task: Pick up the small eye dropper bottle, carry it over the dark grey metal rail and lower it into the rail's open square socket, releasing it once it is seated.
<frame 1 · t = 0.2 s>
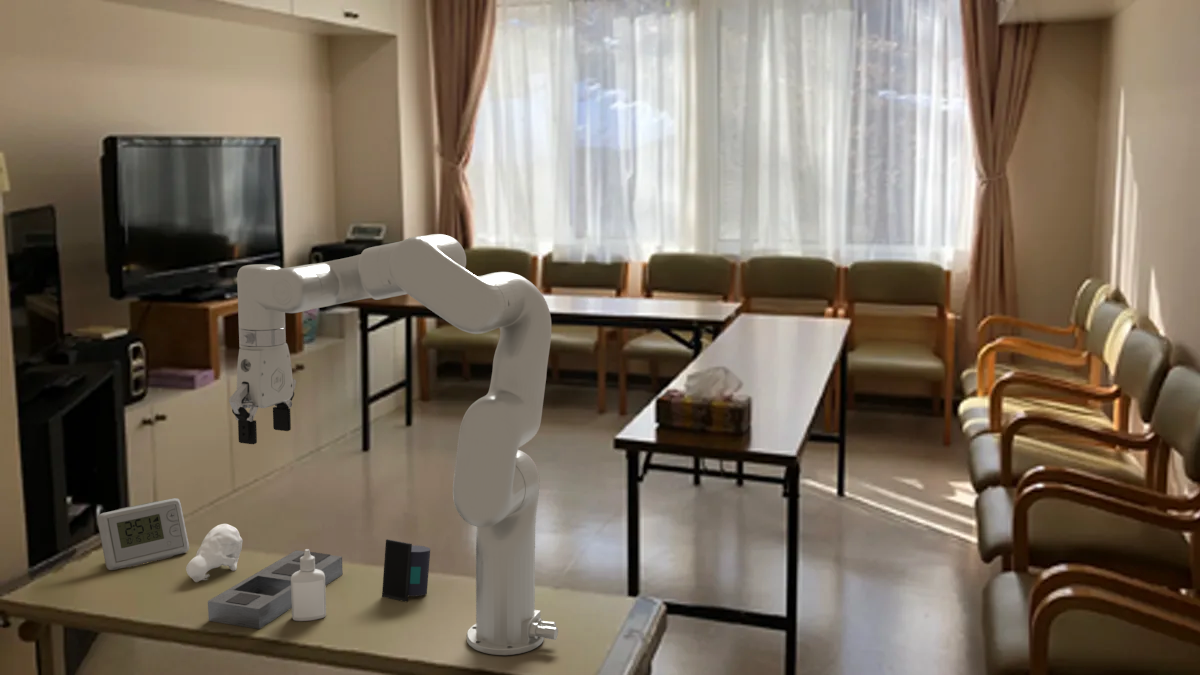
hand: (265, 436, 185), 30 cm above the table, tool pointing down, fingers open, 9 cm apart
speaker: (408, 594, 196), on the table
rail: (279, 596, 193), on the table
eye dropper bottle: (309, 618, 185), on the table
digital clock: (145, 560, 211), on the table
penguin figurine: (212, 575, 204), on the table
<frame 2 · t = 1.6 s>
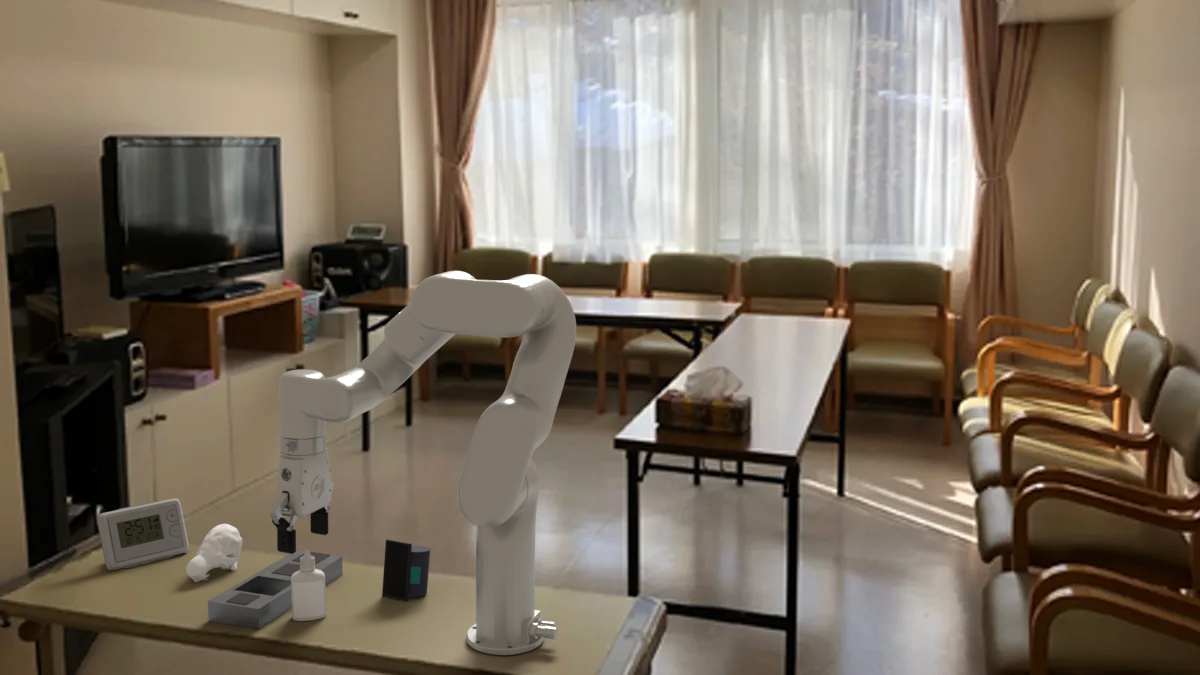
hand: (303, 542, 183), 13 cm above the table, tool pointing down, fingers open, 9 cm apart
nothing on the table moved.
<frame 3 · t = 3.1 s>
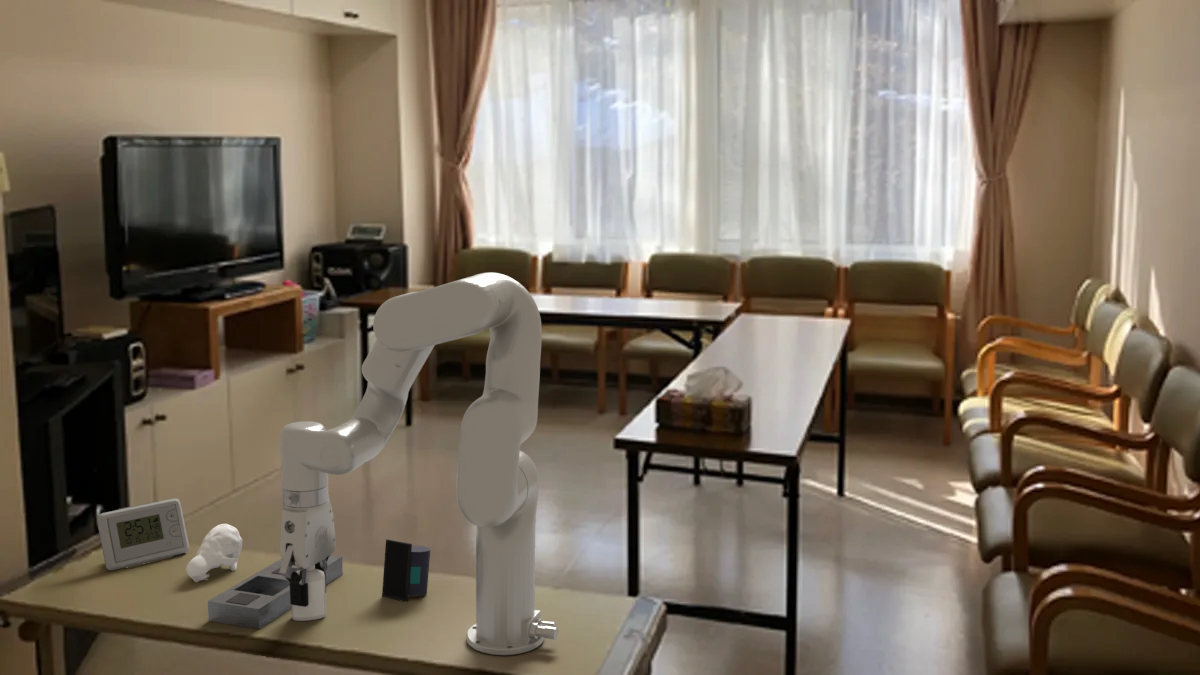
hand: (308, 598, 184), 3 cm above the table, tool pointing down, fingers closed on eye dropper bottle, 4 cm apart
eye dropper bottle: (309, 618, 185), on the table, touching gripper
everything else where it was.
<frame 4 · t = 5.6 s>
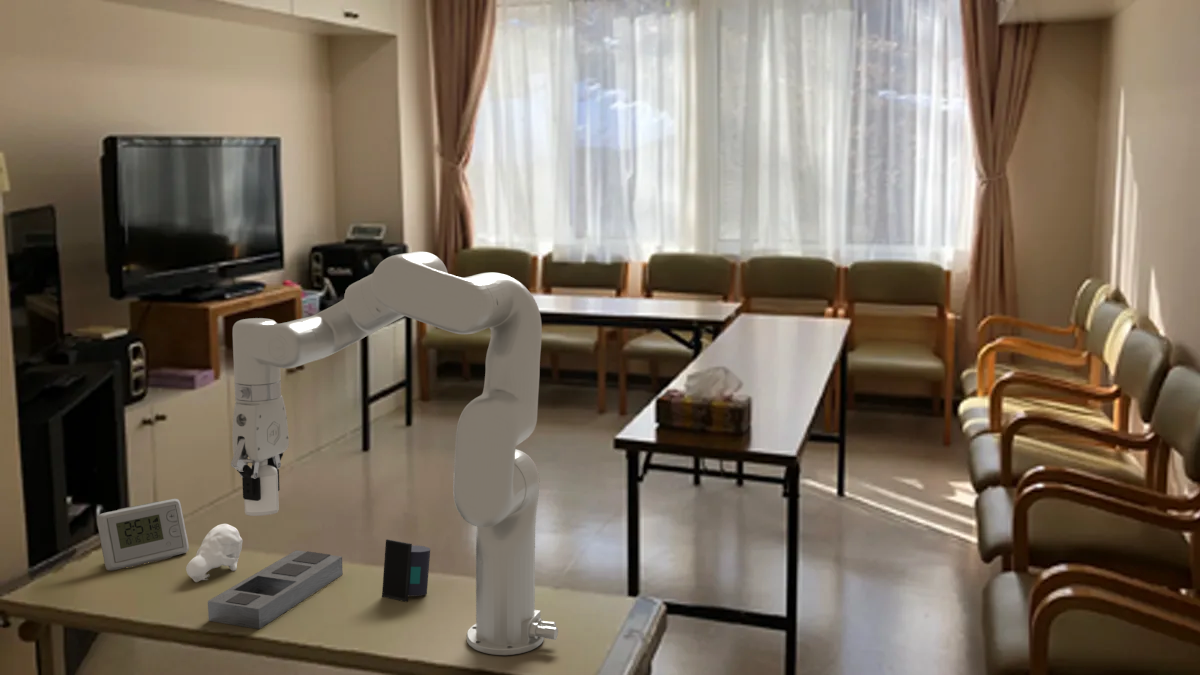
hand: (261, 494, 187), 20 cm above the table, tool pointing down, fingers closed on eye dropper bottle, 4 cm apart
eye dropper bottle: (261, 513, 187), point 17 cm above the table, touching gripper
everything else where it was.
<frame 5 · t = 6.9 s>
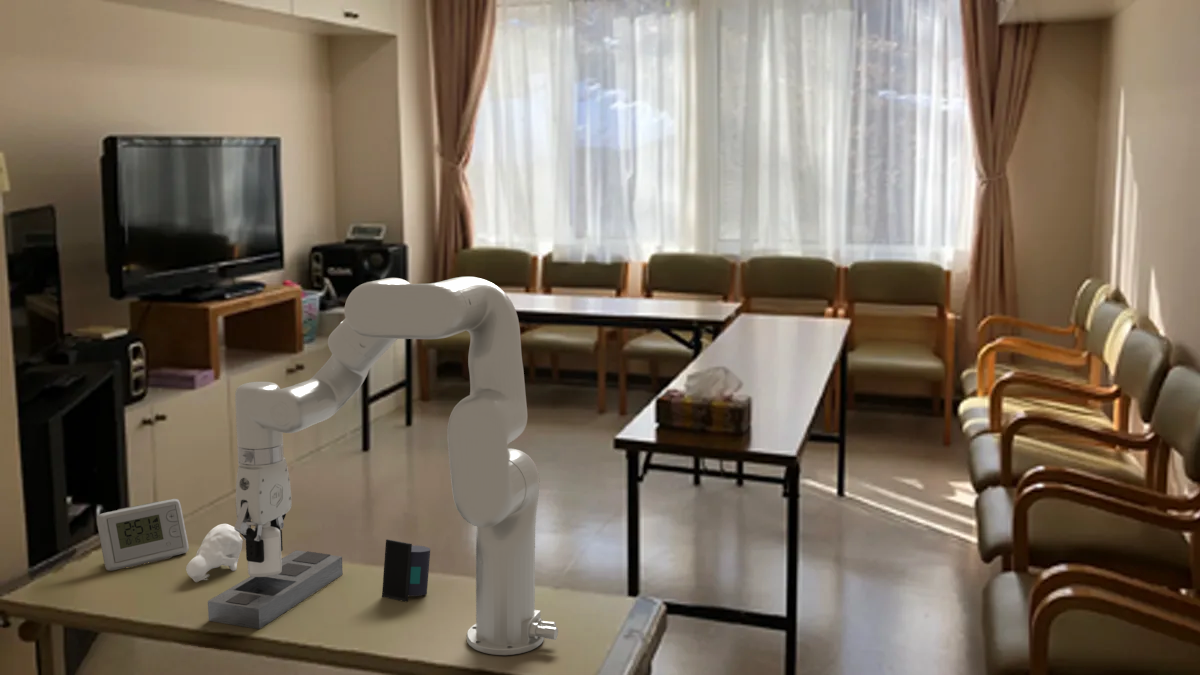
hand: (264, 555, 188), 9 cm above the table, tool pointing down, fingers closed on eye dropper bottle, 4 cm apart
eye dropper bottle: (265, 574, 189), point 6 cm above the table, touching gripper
everything else where it was.
when the fingers open (5 cm above the table, at t = 8.2 s): eye dropper bottle drops 1 cm, resting in rail.
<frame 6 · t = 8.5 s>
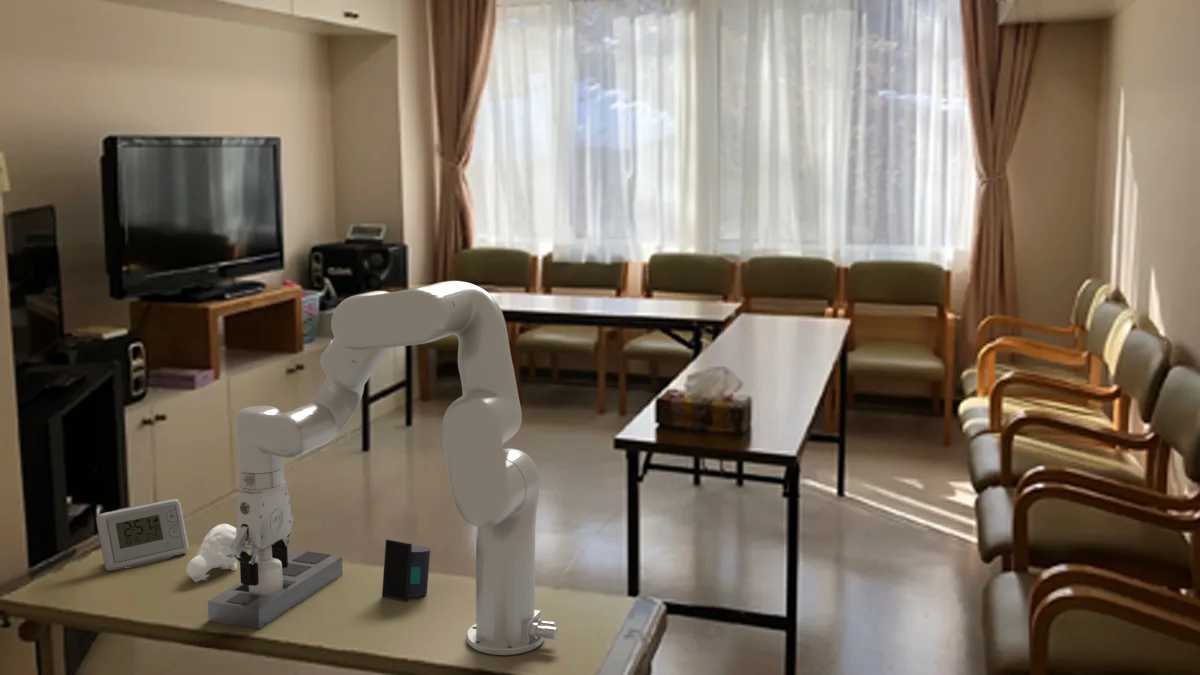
hand: (264, 575, 189), 5 cm above the table, tool pointing down, fingers open, 8 cm apart
eye dropper bottle: (266, 606, 190), resting in rail
everything else where it was.
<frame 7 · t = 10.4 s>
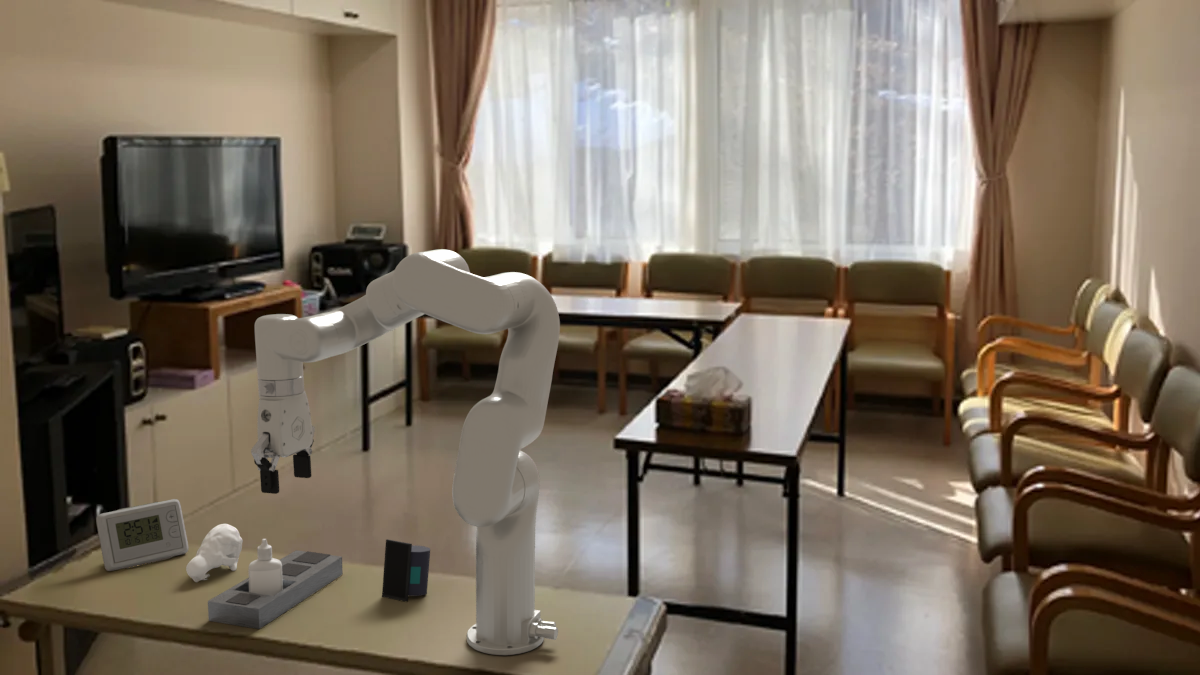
hand: (287, 484, 186), 22 cm above the table, tool pointing down, fingers open, 9 cm apart
nothing on the table moved.
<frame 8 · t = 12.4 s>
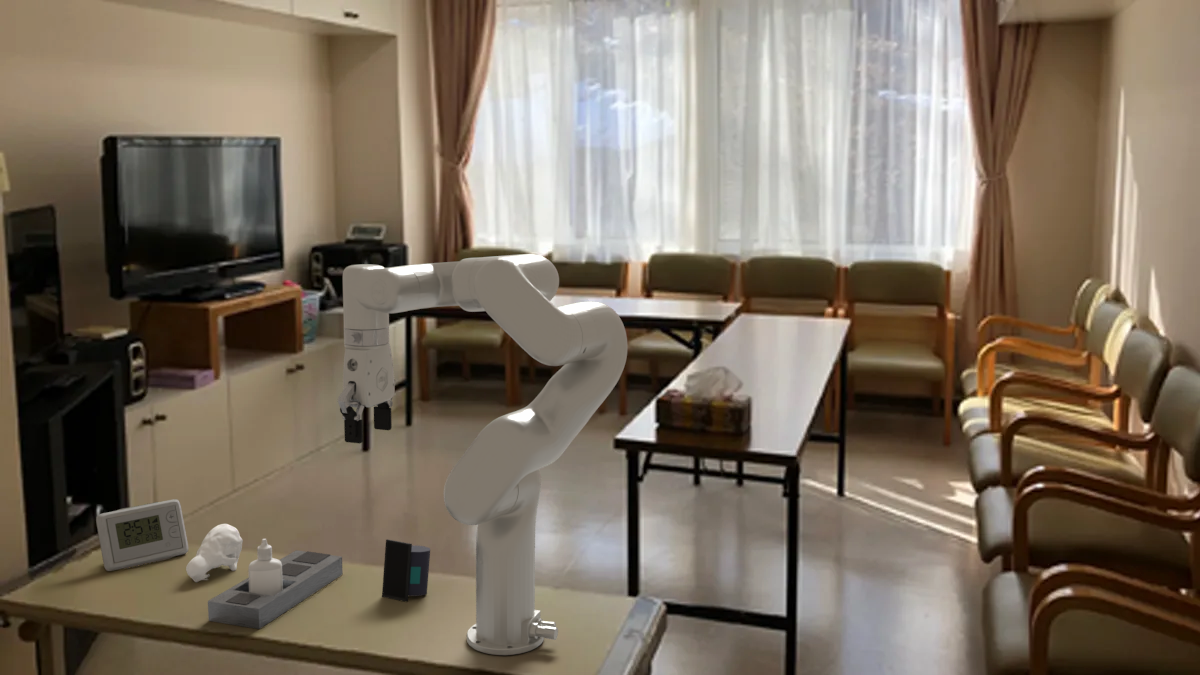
hand: (368, 435, 186), 30 cm above the table, tool pointing down, fingers open, 9 cm apart
nothing on the table moved.
at the end: eye dropper bottle 0.2 cm from the target spot on the rail, point 0.0 cm above the rail's base; eye dropper bottle tilted 0°; the gripper is holding nothing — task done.
